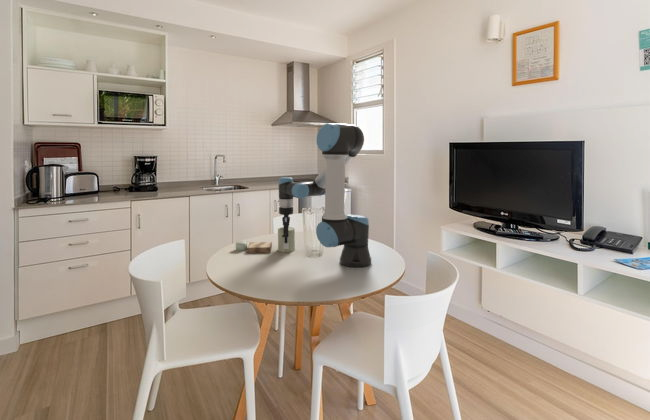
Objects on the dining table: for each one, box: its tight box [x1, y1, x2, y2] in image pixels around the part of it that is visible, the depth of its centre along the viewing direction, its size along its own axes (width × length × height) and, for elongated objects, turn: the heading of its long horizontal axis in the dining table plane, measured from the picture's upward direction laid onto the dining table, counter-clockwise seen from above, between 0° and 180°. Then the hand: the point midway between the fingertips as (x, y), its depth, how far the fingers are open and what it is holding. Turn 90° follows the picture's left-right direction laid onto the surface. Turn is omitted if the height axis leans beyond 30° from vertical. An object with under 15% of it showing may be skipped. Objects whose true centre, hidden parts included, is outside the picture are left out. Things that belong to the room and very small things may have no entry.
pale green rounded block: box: [235, 240, 248, 252], centre depth 196 cm, size 6×6×4 cm
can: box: [277, 226, 296, 253], centre depth 196 cm, size 9×9×12 cm
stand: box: [246, 241, 273, 254], centre depth 196 cm, size 12×12×3 cm
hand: (286, 245), depth 197 cm, fingers open, 13 cm apart
